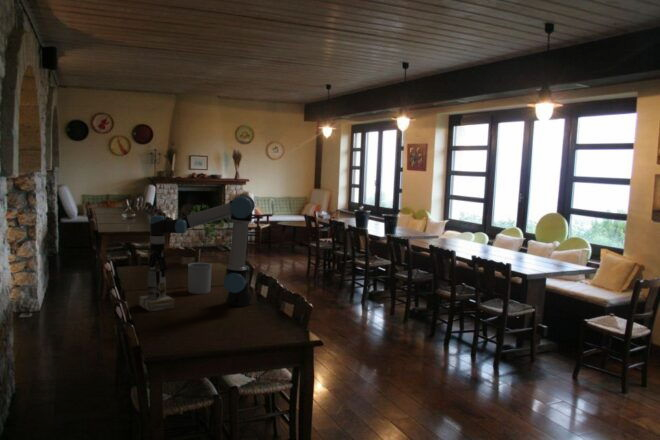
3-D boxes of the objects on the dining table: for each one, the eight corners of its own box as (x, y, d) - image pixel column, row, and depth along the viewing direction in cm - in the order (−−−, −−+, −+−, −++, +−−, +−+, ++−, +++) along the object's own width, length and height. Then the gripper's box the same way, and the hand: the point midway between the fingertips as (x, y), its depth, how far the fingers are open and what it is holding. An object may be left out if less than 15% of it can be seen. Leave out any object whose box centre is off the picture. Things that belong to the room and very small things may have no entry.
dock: (174, 308, 305) (174, 299, 304) (150, 311, 296) (150, 302, 295) (162, 302, 317) (163, 293, 317) (139, 305, 308) (139, 296, 308)
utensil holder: (213, 293, 343) (213, 266, 341) (188, 294, 337) (189, 267, 336) (209, 288, 356) (209, 262, 355) (186, 289, 351) (186, 262, 349)
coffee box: (157, 300, 301) (157, 271, 299) (147, 299, 302) (147, 270, 301) (166, 296, 310) (166, 268, 308) (155, 295, 311) (156, 267, 310)
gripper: (142, 240, 310) (142, 277, 312) (159, 246, 291) (159, 285, 293) (155, 240, 315) (155, 276, 317) (173, 245, 296) (173, 283, 298)
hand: (157, 280), depth 305 cm, fingers open, 13 cm apart
